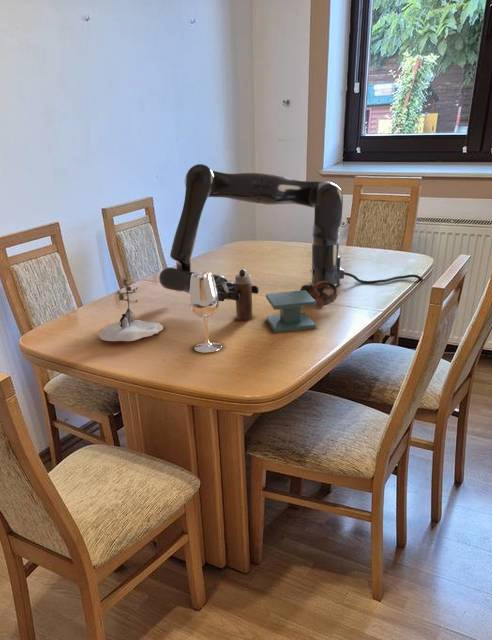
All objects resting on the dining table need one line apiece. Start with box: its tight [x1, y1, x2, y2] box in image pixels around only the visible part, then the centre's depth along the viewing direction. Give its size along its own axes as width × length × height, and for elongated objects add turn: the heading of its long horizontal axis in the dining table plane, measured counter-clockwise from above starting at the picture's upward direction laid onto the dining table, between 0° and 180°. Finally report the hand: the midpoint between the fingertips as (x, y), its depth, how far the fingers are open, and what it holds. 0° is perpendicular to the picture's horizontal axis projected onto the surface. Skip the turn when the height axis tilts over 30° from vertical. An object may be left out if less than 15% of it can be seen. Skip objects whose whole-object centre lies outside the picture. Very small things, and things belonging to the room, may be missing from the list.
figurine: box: [98, 277, 164, 342], centre depth 169 cm, size 20×18×16 cm
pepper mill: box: [234, 269, 254, 322], centre depth 176 cm, size 5×5×15 cm
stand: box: [265, 290, 317, 334], centre depth 170 cm, size 12×12×8 cm
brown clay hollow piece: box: [299, 281, 338, 309], centre depth 185 cm, size 12×10×8 cm
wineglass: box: [188, 271, 222, 354], centre depth 155 cm, size 8×8×20 cm
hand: (248, 293), depth 174 cm, fingers open, 8 cm apart
